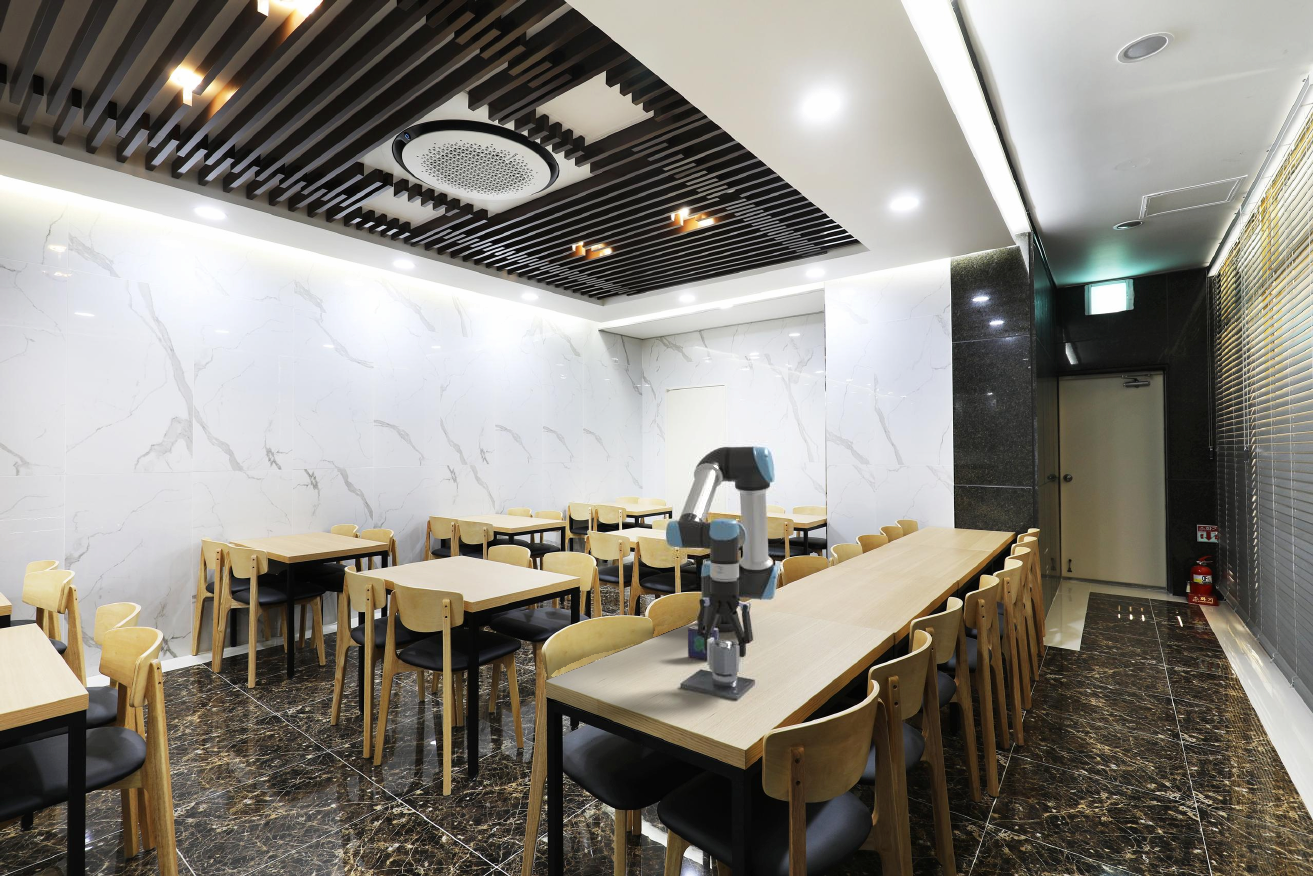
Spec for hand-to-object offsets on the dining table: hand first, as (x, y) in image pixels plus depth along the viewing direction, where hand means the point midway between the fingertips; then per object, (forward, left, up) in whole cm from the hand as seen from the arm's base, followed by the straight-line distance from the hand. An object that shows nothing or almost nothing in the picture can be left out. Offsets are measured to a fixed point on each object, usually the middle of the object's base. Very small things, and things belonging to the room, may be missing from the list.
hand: (724, 666), depth 161 cm
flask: (-18, -15, -6) cm, 24 cm away
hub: (0, 0, -1) cm, 1 cm away
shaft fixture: (0, -2, -6) cm, 6 cm away
